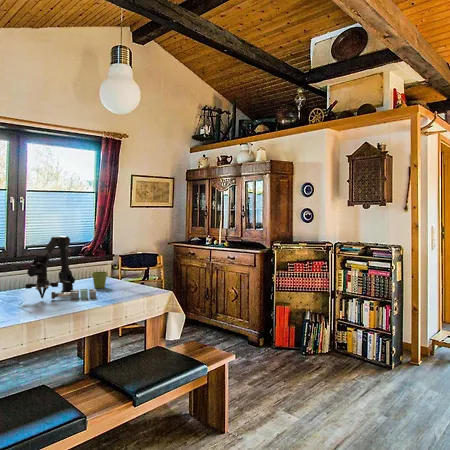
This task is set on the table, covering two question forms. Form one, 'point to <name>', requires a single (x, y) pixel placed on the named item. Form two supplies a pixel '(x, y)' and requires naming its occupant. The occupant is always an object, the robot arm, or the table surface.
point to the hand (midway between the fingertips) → (42, 298)
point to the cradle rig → (76, 294)
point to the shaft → (60, 295)
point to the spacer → (83, 293)
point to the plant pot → (99, 279)
